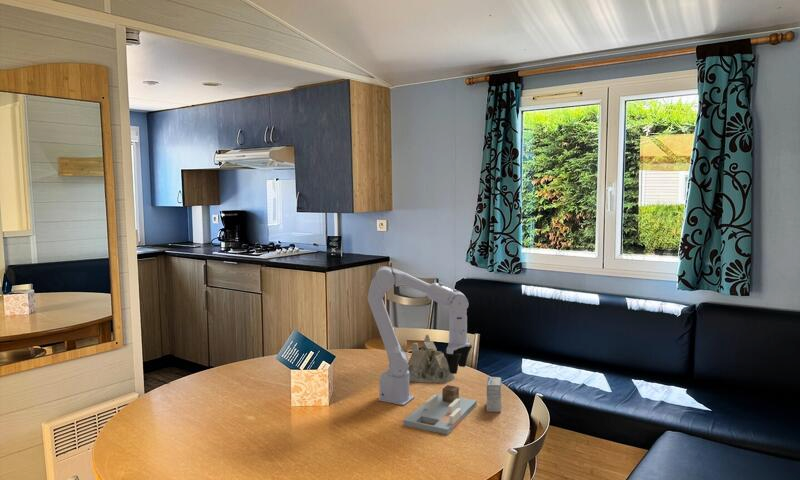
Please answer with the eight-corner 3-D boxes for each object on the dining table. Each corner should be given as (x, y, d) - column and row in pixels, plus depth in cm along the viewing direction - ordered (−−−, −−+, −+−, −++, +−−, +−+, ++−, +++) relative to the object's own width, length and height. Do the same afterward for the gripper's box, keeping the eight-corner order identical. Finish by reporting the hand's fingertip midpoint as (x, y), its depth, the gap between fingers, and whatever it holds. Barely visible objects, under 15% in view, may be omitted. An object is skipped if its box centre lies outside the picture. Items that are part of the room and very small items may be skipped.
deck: (403, 425, 163) (403, 412, 163) (436, 398, 185) (436, 386, 184) (447, 434, 157) (447, 421, 157) (476, 405, 178) (476, 393, 178)
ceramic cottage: (399, 375, 206) (401, 336, 205) (432, 368, 216) (435, 331, 214) (425, 390, 194) (428, 348, 192) (460, 382, 204) (463, 342, 202)
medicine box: (500, 412, 172) (501, 385, 171) (486, 411, 173) (486, 384, 172) (501, 403, 180) (501, 377, 179) (487, 402, 181) (487, 376, 180)
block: (442, 401, 177) (442, 389, 177) (447, 397, 181) (447, 385, 181) (454, 403, 176) (454, 391, 175) (458, 399, 179) (458, 387, 179)
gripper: (461, 335, 173) (461, 378, 174) (477, 325, 186) (476, 365, 187) (440, 333, 176) (440, 374, 178) (457, 323, 189) (457, 362, 190)
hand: (457, 369), depth 183 cm, fingers open, 7 cm apart
